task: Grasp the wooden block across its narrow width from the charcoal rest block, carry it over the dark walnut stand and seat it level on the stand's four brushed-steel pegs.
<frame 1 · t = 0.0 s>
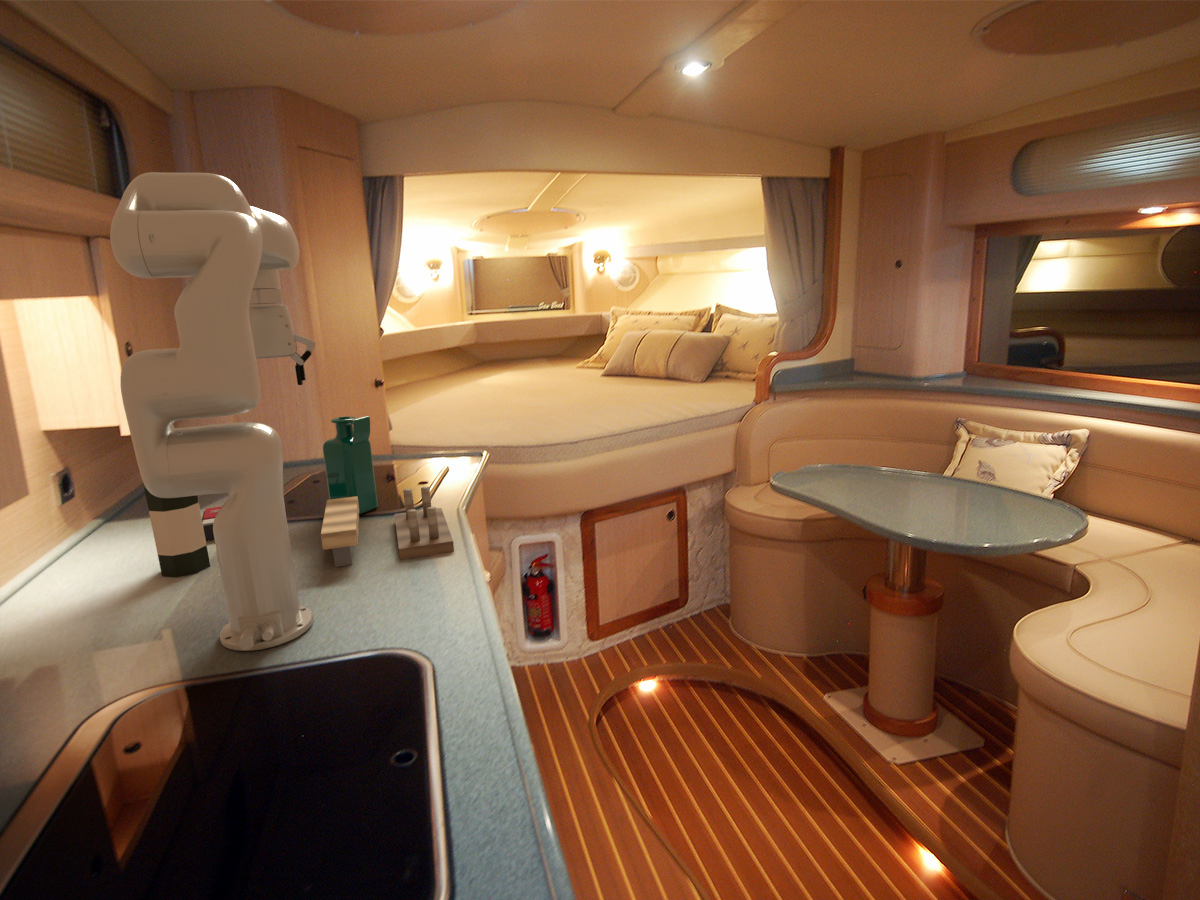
hand: (274, 386, 136), 31 cm above the worktop, tool pointing down, fingers open, 9 cm apart
calculator: (233, 529, 150), on the worktop
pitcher: (357, 511, 158), on the worktop
wooden block: (342, 528, 134), point 4 cm above the worktop, touching rest block
rest block: (345, 547, 135), on the worktop
peg stand: (422, 536, 139), on the worktop
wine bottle: (186, 569, 127), on the worktop
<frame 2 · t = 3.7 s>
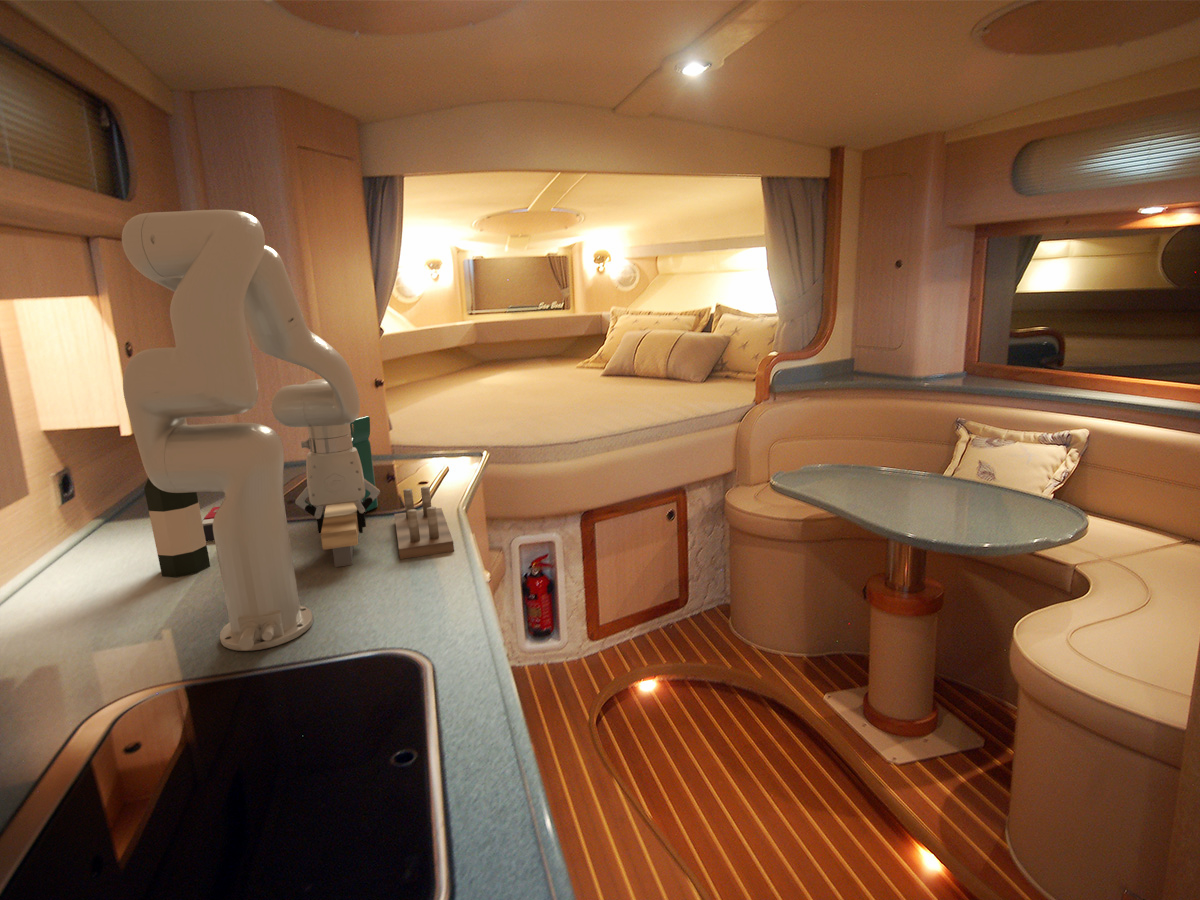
hand: (343, 532, 134), 3 cm above the worktop, tool pointing down, fingers closed on wooden block, 6 cm apart
wooden block: (342, 528, 134), point 4 cm above the worktop, touching gripper, rest block
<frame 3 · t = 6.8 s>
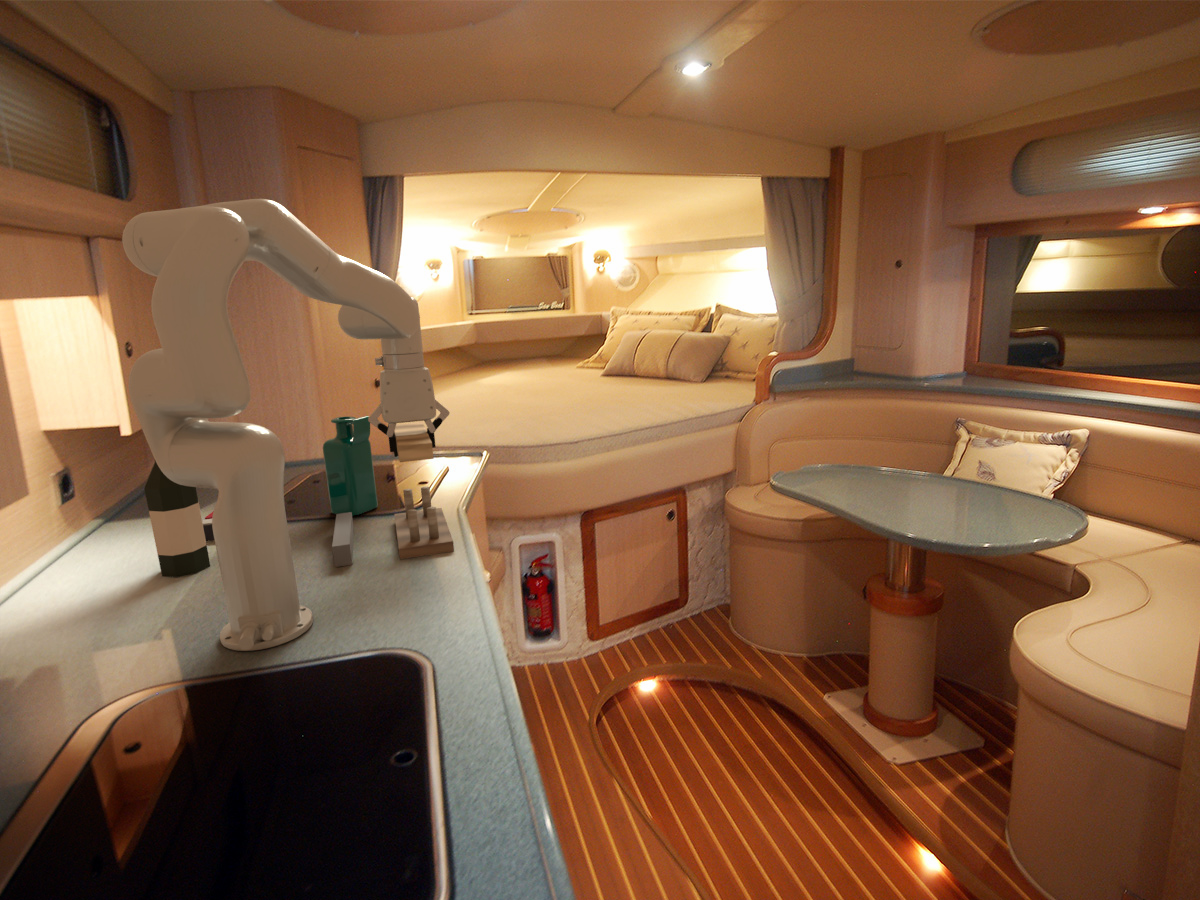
hand: (413, 452, 135), 18 cm above the worktop, tool pointing down, fingers closed on wooden block, 6 cm apart
wooden block: (412, 448, 135), point 19 cm above the worktop, touching gripper
when the fingers open (8 cm above the worktop, at t = 9.8 s): wooden block stays where it is, resting on peg stand.
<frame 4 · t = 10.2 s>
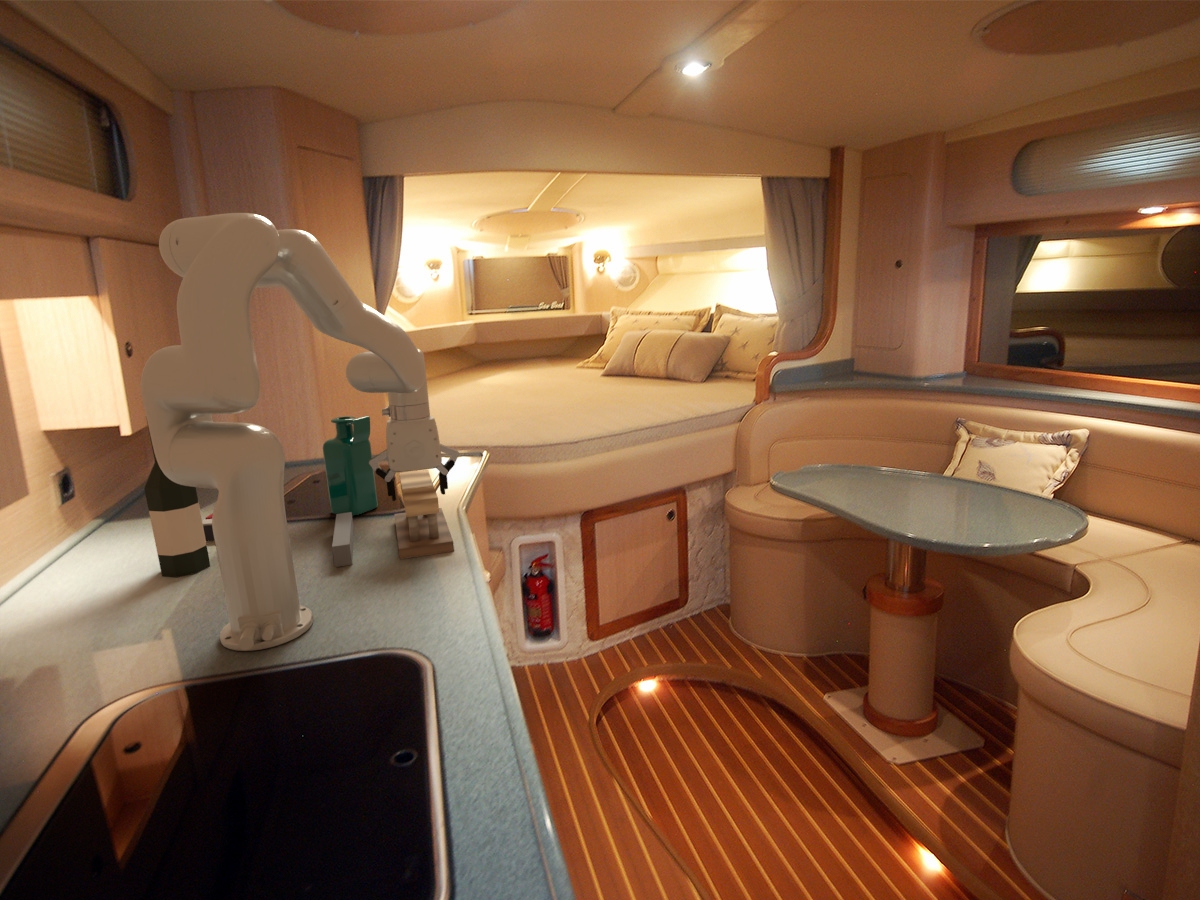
hand: (418, 495, 137), 9 cm above the worktop, tool pointing down, fingers open, 9 cm apart
wooden block: (418, 498, 137), point 8 cm above the worktop, touching peg stand
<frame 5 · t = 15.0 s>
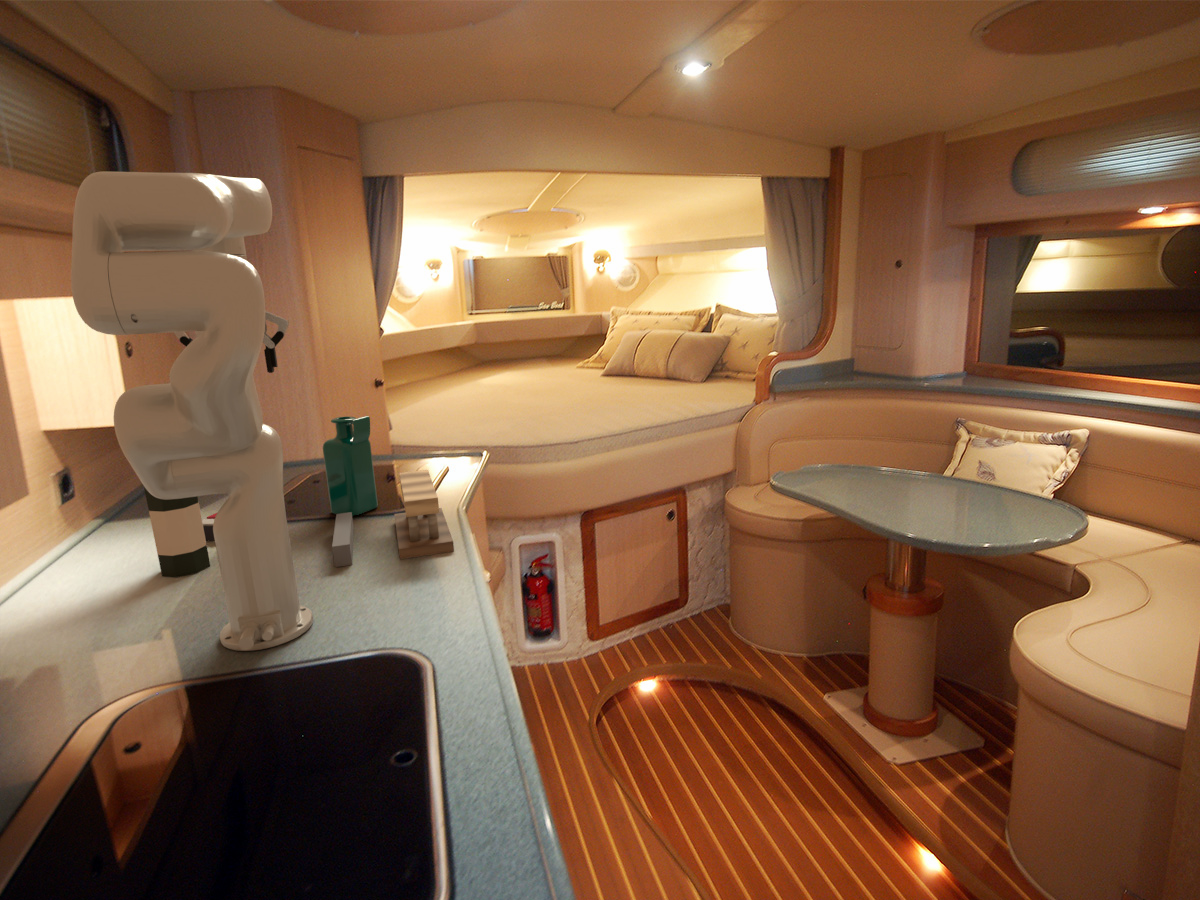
hand: (239, 374, 113), 36 cm above the worktop, tool pointing down, fingers open, 9 cm apart
at the end: wooden block 0.0 cm off-centre on the peg stand, point 8.0 cm above the peg stand's base; wooden block tilted 0°; the gripper is holding nothing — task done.
